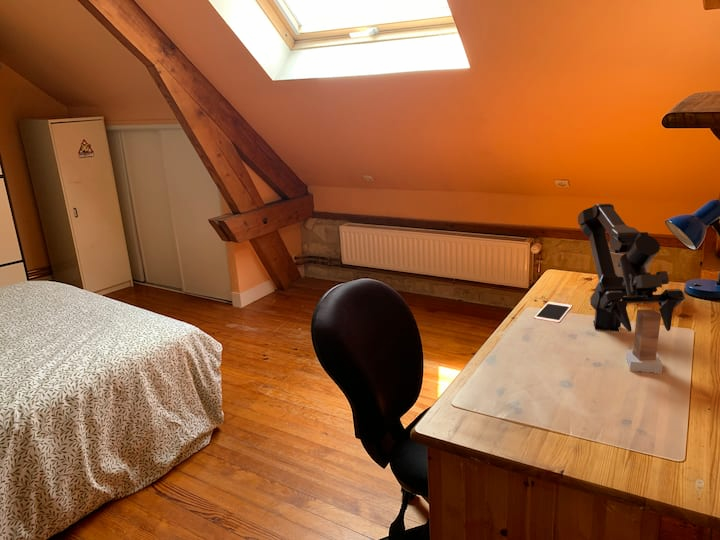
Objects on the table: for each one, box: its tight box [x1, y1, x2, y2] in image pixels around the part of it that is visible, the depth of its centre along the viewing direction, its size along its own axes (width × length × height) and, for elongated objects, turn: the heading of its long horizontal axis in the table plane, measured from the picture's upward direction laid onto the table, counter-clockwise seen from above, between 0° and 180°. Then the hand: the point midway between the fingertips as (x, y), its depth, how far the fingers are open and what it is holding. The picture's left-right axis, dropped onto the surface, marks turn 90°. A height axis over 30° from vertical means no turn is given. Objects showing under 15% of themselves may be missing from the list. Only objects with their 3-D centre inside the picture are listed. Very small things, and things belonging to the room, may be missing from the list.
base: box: [625, 349, 663, 374], centre depth 139 cm, size 7×7×2 cm
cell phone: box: [533, 301, 573, 323], centre depth 176 cm, size 8×16×1 cm, turn 146°
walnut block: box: [632, 308, 662, 361], centre depth 137 cm, size 4×4×12 cm
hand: (649, 330), depth 135 cm, fingers open, 9 cm apart
